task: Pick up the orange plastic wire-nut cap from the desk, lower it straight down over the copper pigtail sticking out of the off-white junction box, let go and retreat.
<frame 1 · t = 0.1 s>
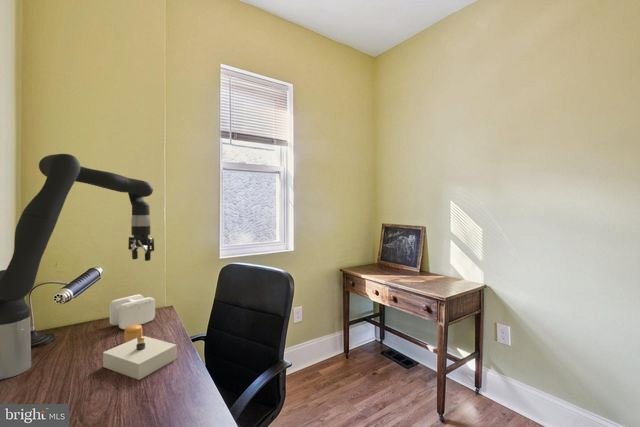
hand: (141, 259, 137), 29 cm above the table, fingers open, 8 cm apart
pigtail: (140, 342, 102), on the junction box, point 7 cm above the table
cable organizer: (133, 324, 136), on the table
wire nut: (133, 342, 118), on the table
junction box: (141, 362, 103), on the table
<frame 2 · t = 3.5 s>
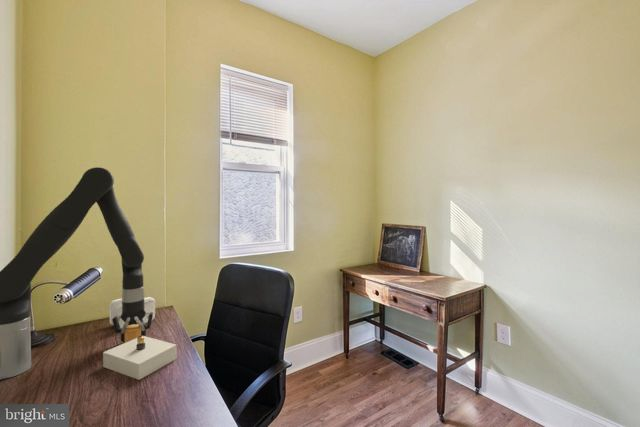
hand: (133, 340, 118), 1 cm above the table, fingers closed on wire nut, 5 cm apart
wire nut: (133, 342, 118), on the table, touching gripper
everything else where it was.
when the fingers open (7 cm above the table, at t = 8.7 s): wire nut drops 1 cm, resting on junction box.
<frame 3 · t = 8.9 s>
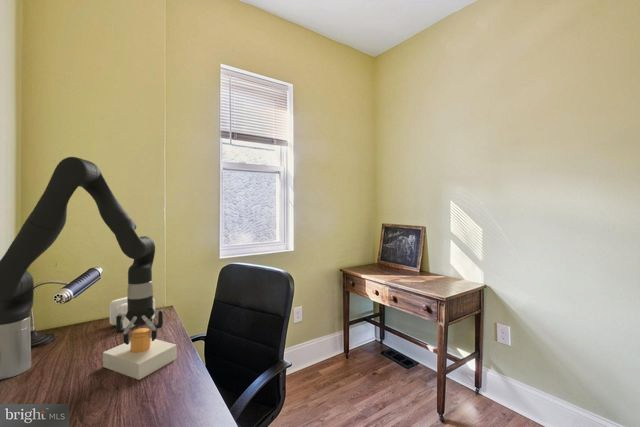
hand: (140, 341, 102), 7 cm above the table, fingers open, 7 cm apart
wire nut: (140, 348, 102), point 5 cm above the table, touching junction box
everything else where it was.
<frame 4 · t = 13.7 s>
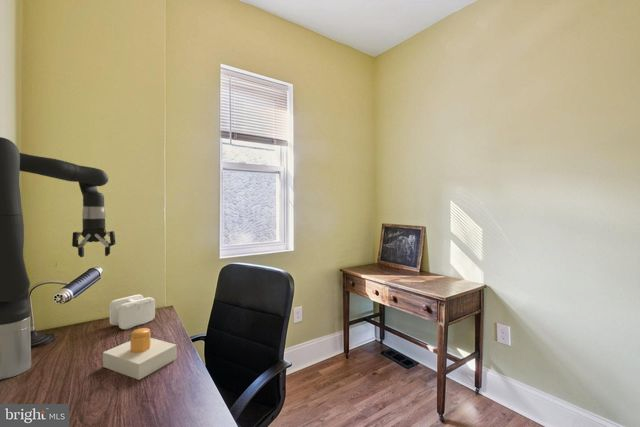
hand: (94, 256, 123), 33 cm above the table, fingers open, 8 cm apart
nothing on the table moved.
at the end: wire nut 0.1 cm from the pigtail (horizontally); wire nut point 5.0 cm above the table; wire nut tilted 0° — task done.
